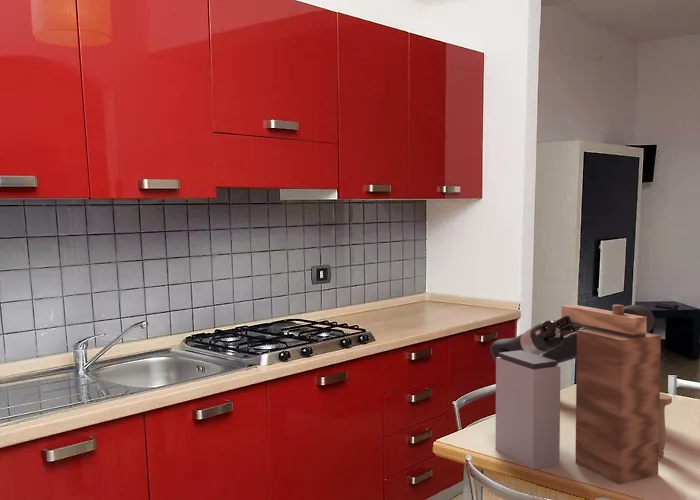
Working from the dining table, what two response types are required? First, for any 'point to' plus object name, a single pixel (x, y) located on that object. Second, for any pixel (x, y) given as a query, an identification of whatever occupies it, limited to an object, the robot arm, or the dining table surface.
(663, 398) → the handle
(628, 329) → the stamp
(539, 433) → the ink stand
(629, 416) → the shelf block
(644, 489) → the dining table surface
